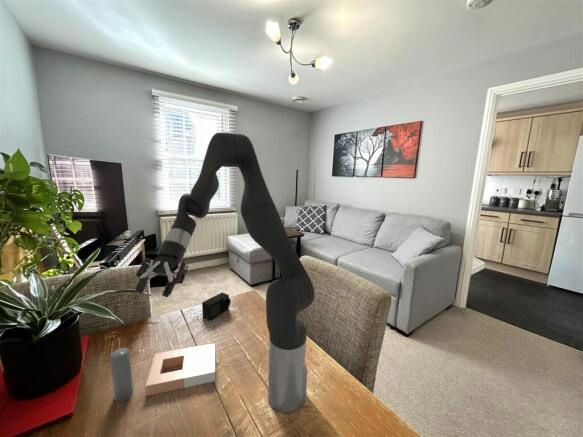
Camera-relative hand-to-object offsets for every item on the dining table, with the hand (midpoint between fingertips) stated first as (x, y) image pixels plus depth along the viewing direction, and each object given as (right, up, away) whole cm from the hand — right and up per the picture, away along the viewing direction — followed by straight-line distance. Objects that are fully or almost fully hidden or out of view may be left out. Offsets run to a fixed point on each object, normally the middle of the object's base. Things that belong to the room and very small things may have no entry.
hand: (151, 294), depth 70 cm
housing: (+9, -23, +1) cm, 24 cm away
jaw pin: (-3, -24, -8) cm, 25 cm away
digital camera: (+10, -18, +30) cm, 36 cm away
